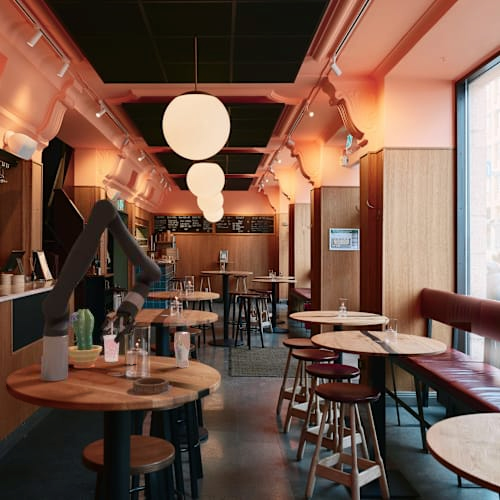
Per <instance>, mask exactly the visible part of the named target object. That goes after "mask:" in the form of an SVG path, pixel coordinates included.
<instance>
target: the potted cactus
mask: <svg viewBox="0 0 500 500" xmlns="http://www.w3.org/2000/svg"><path fill="white" fill-rule="evenodd" d="M94 324H95V317H94V316H93V314H92V313H91V311H90V310H89V308H87V309H85V308H83V309H78V310H77V312H76V311H75V312H73V313H72V314H71V313H70V324H69V327H70V326H71V327H72V330H73V332H74V334H75V339H76V344H77V345H74V346H68V357H69V359H70V361H71V362H72V364H73V368H74V369H89V368H93V367H95V366H96V365H95V364H96V362H97V360H98V359H99V357H100V353H101V352H102V351H103V346H101V345H94V344H93V332H94V331H93V330H94V327H95V326H94Z"/></svg>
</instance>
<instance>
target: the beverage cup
mask: <svg viewBox="0 0 500 500" xmlns="http://www.w3.org/2000/svg"><path fill="white" fill-rule="evenodd" d="M113 327H114V326H113V322H112V329H111V332H110V333H111V334H109V335H105V336H103V337H104V344H103V345H104V361H105V362H109V363H111V362H112V363H114V362H118V360H119V353H120V352H119V351H120V349H119V348H120V342H119V343H118V344H117V343H115V342H114V339H115V337H116V335H117V334H114V333H113V332H114V331H113Z"/></svg>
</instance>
